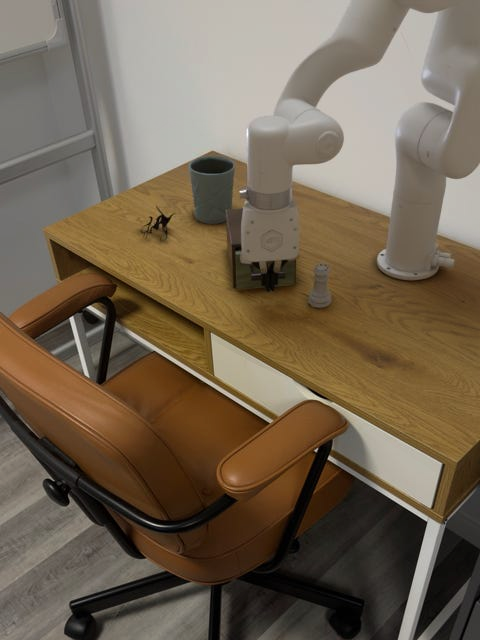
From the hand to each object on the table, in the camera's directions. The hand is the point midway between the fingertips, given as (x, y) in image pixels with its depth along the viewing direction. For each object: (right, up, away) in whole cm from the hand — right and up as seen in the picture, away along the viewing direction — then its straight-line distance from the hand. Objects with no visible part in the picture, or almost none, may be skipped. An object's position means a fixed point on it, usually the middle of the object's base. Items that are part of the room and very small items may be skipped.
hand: (269, 287), depth 132 cm
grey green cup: (-11, +23, +32) cm, 41 cm away
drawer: (-1, +5, +10) cm, 11 cm away
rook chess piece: (+10, -2, +4) cm, 11 cm away
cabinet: (-1, +7, +15) cm, 16 cm away
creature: (-24, +17, +26) cm, 39 cm away
